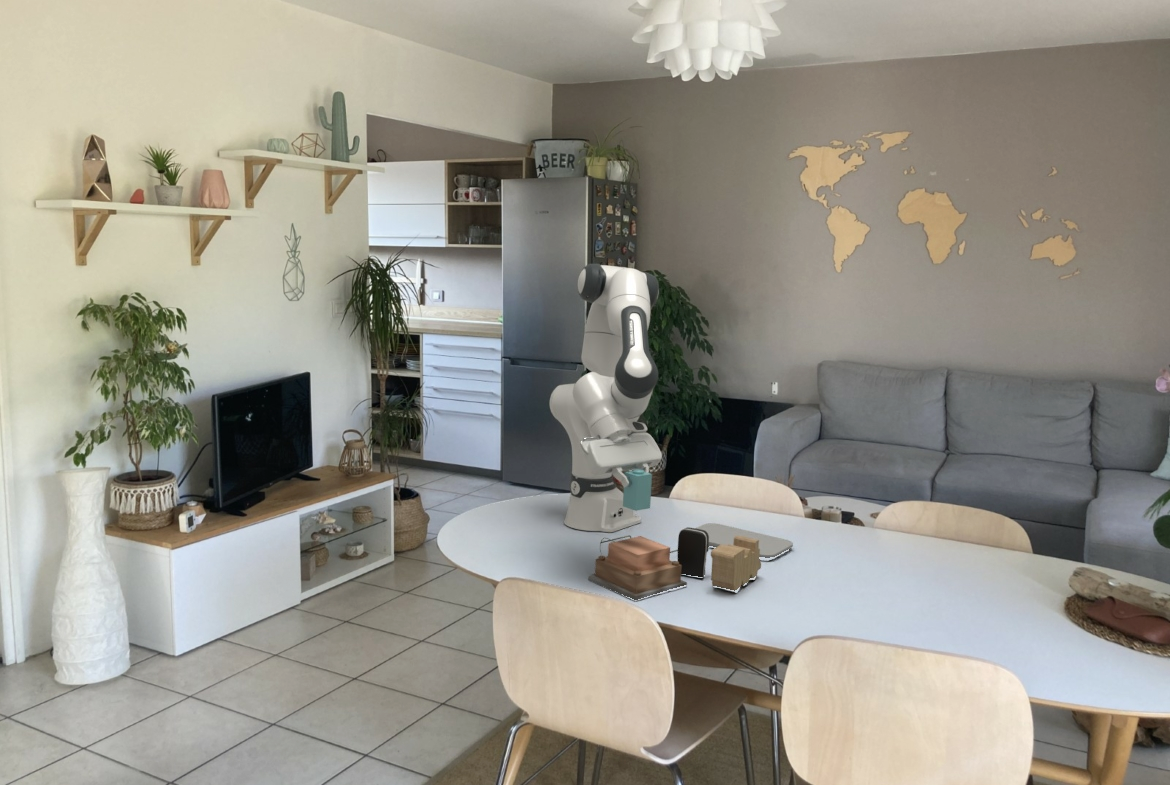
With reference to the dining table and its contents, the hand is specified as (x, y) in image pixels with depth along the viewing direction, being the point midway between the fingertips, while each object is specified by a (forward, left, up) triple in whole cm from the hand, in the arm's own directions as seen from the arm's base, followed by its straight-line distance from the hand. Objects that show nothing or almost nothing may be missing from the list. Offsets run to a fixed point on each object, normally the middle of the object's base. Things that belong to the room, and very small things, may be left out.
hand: (638, 484), depth 213 cm
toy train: (-20, +14, -24) cm, 34 cm away
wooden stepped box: (-1, +1, -24) cm, 24 cm away
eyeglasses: (-15, -14, -24) cm, 32 cm away
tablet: (-43, -6, -24) cm, 50 cm away
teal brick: (0, 0, -5) cm, 5 cm away
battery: (-16, +4, -24) cm, 29 cm away
